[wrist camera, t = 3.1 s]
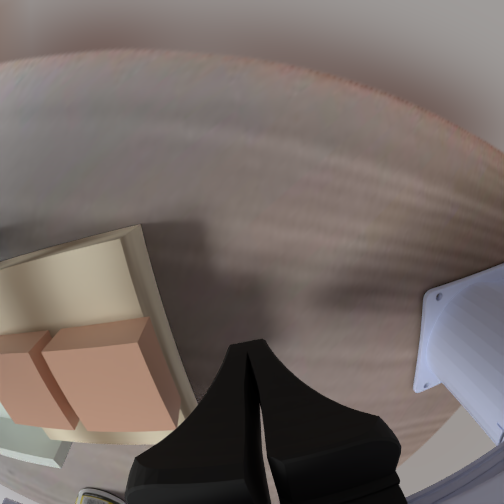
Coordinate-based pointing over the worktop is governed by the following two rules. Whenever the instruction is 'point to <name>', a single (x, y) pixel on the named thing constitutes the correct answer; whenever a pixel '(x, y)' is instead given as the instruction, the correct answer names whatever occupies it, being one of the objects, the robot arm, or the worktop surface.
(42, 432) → the box
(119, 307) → the beige block
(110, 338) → the tile
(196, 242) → the worktop surface
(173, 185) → the worktop surface
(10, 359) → the tile
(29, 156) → the worktop surface
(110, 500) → the supplement bottle
